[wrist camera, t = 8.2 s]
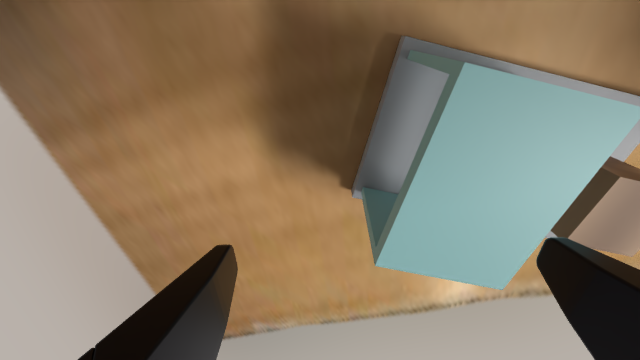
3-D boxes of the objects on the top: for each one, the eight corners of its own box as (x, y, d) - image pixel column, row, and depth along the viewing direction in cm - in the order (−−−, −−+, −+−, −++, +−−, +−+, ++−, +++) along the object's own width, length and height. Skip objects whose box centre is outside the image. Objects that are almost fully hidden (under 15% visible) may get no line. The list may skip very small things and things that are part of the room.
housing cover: (523, 78, 16) (648, 108, 10) (449, 211, 21) (502, 289, 14) (410, 49, 16) (464, 62, 9) (361, 192, 20) (375, 265, 14)
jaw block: (589, 146, 18) (697, 194, 13) (552, 197, 20) (631, 256, 15) (533, 133, 18) (620, 176, 12) (501, 185, 20) (564, 242, 14)
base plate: (654, 100, 17) (690, 108, 16) (549, 231, 23) (567, 248, 21) (401, 35, 16) (410, 36, 14) (351, 190, 21) (353, 204, 20)
